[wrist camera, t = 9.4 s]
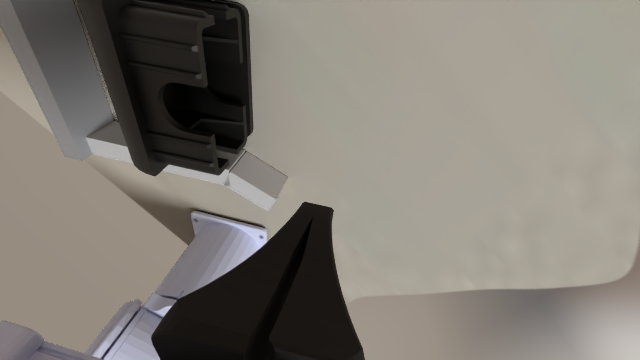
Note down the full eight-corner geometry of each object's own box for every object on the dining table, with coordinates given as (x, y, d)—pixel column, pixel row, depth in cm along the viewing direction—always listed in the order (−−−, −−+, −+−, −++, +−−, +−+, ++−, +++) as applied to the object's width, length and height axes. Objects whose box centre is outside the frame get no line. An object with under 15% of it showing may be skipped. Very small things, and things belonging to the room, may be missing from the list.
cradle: (287, 190, 26) (271, 222, 23) (109, 148, 28) (72, 173, 25) (301, -68, 16) (275, -74, 13) (14, -107, 18) (-71, -121, 14)
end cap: (141, -21, 19) (39, -12, 14) (248, -5, 18) (184, 11, 13) (173, 123, 25) (110, 168, 20) (254, 139, 24) (212, 191, 19)
